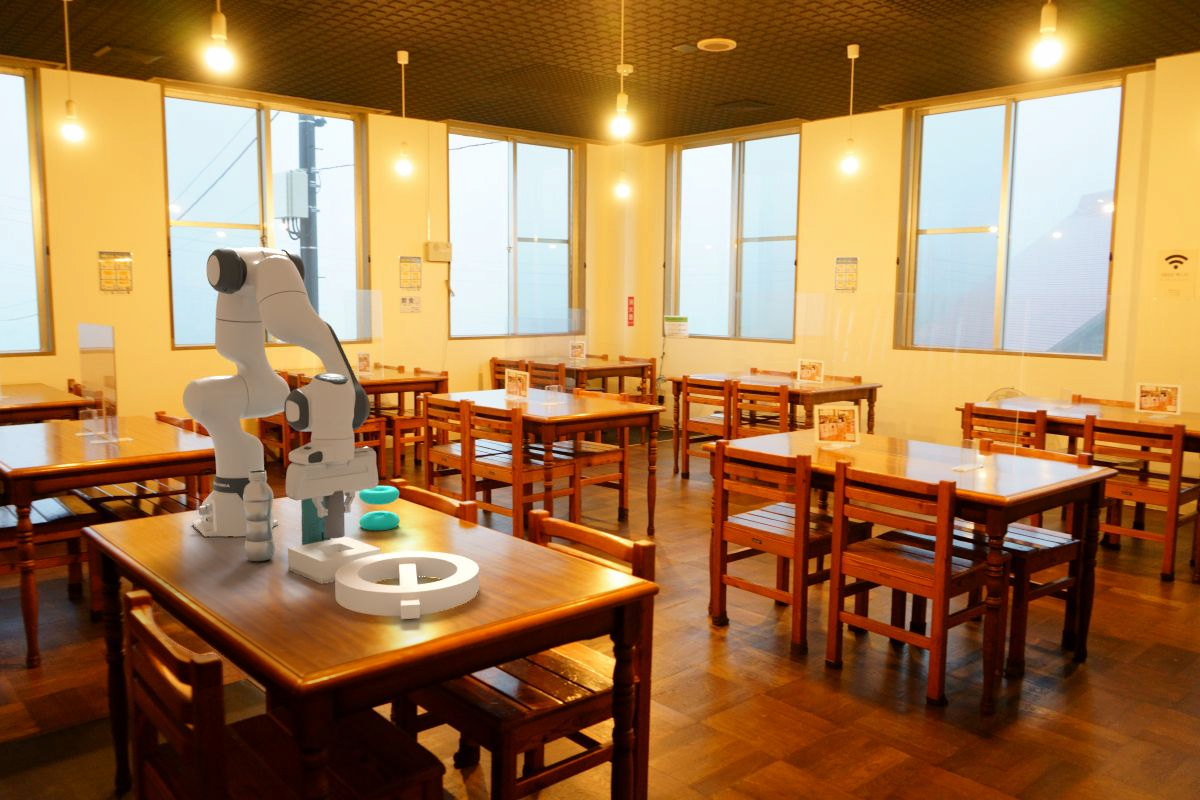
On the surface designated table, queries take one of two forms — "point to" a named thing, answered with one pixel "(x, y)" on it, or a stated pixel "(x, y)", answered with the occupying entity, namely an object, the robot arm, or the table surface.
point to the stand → (327, 557)
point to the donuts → (379, 518)
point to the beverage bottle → (312, 523)
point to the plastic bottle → (258, 518)
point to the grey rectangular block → (334, 515)
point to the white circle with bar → (406, 583)
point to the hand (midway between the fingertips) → (334, 514)
